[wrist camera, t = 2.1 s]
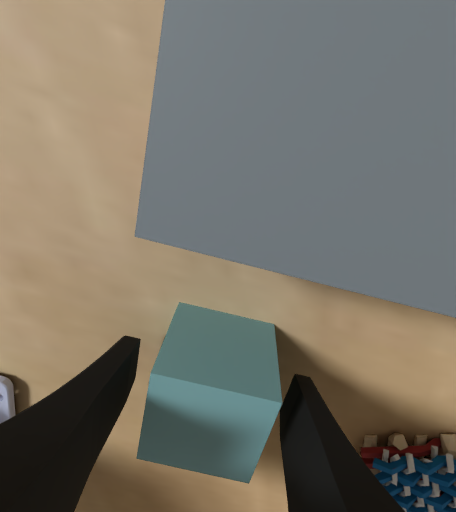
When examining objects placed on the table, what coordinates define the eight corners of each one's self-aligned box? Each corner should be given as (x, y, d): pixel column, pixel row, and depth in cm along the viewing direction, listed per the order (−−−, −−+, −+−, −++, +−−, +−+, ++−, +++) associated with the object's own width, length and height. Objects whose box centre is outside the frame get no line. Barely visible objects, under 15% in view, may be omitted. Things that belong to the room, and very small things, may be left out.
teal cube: (249, 392, 15) (248, 483, 11) (165, 373, 15) (136, 458, 11) (274, 323, 13) (282, 403, 9) (179, 301, 13) (150, 372, 9)
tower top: (416, 262, 9) (489, 326, 6) (172, 199, 9) (134, 236, 6) (590, -61, 6) (876, -212, 3) (235, -165, 6) (219, -422, 3)
